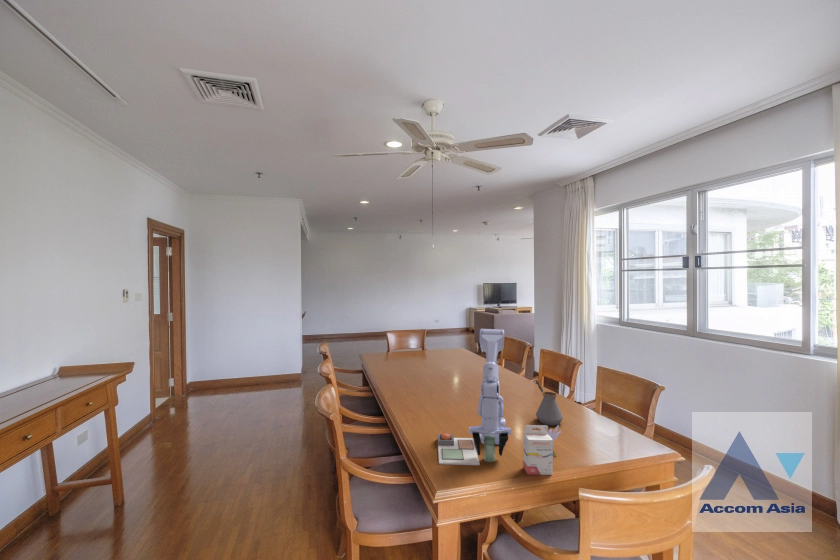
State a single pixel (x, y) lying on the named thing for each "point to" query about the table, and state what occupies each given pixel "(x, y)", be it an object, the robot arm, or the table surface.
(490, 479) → the table surface
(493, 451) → the green rounded cylinder
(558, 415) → the coffee pot
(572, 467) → the table surface
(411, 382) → the table surface
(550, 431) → the water lily
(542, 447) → the ink cartridge box
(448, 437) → the button
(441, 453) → the picture board
